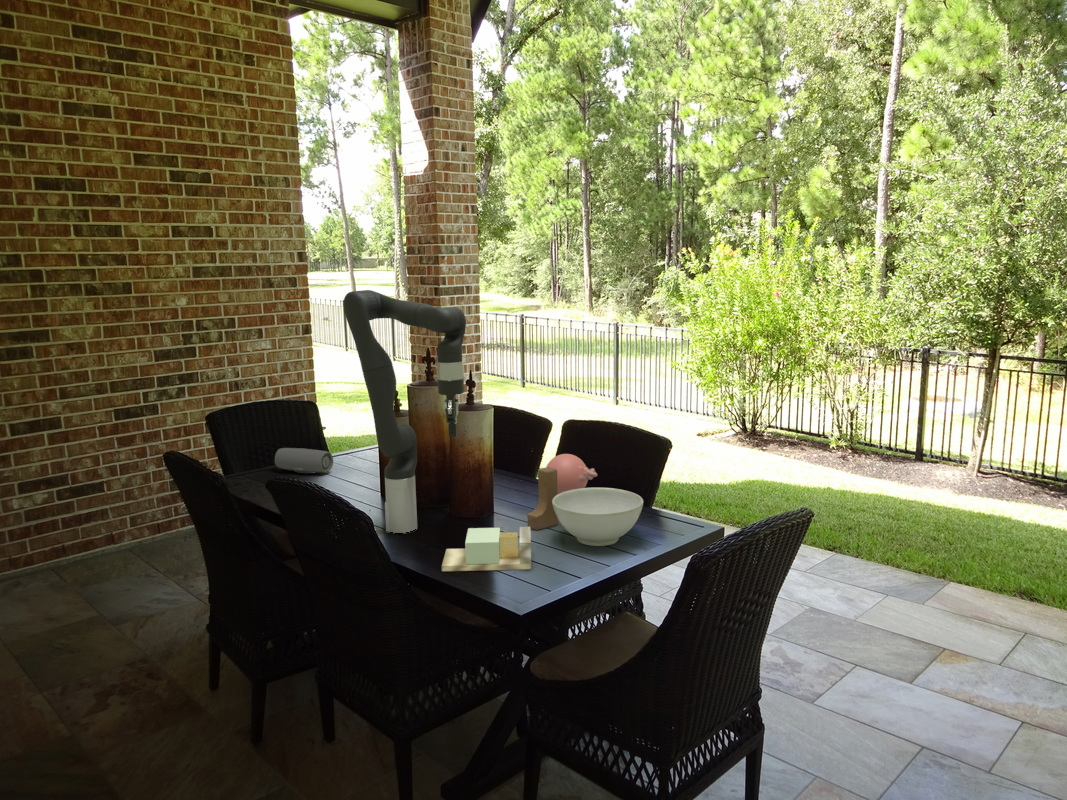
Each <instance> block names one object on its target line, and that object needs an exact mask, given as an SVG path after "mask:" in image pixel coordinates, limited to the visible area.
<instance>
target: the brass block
mask: <svg viewBox="0 0 1067 800" xmlns="http://www.w3.org/2000/svg"><path fill="white" fill-rule="evenodd" d="M518 533H519V532H518V531H513V532H509V531H508V532H504V531H503V532H500V535H499V543H500V558H518V547H519V534H518Z"/></svg>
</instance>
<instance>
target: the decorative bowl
mask: <svg viewBox="0 0 1067 800" xmlns="http://www.w3.org/2000/svg"><path fill="white" fill-rule="evenodd" d="M552 504H553V508H554V511H555V513H556V516H557V518H558V522H559V523H560V524H561V525H562V527H564V529H565V530H566V531H567V532H568V533H570V534H571V535H572V536H573V537H575V538H576V540H577V541H578V542H579V543H580V544H582V545H587V546H592V547H593V546H594V547H605V546H611V545H614V544H616V543H617V542H618V541H619V538H621V537H623V536H624V535H626V534H627V533H628V532H629V531H630V530H631V529H632V528H633V527H634V525H635V524H636V522H637V521H638V519H639V517H640V516H641V512H642V509H643V507H644V499H643V498H642V496H640V495H639V494H637V493H635V492H632V491H629V490H624V489H621V488H620V489H619V488H613V487H585V488H580V489H574V490H569V491H565V492H562V493H560V494H558V495H556V496H555V497H554V498H553V500H552Z"/></svg>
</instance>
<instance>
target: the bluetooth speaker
mask: <svg viewBox="0 0 1067 800" xmlns="http://www.w3.org/2000/svg"><path fill="white" fill-rule="evenodd" d="M274 464H275V466H276V467H277V468H278V469H283V470H287V471H292V470H294V471H308V472H317V473H327V472H326V471H328V472H330V471H331V470H332V468H333V465H334V456H333V455H332V453H331V452H330V451H327V450H319V449H312V448H297V447H282V448H278V449H277V451H276V452H275V456H274ZM329 470H330V471H329Z"/></svg>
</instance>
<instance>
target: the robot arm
mask: <svg viewBox="0 0 1067 800" xmlns="http://www.w3.org/2000/svg"><path fill="white" fill-rule="evenodd" d="M343 311H344V315H345V318H346V321H347V323H348V327H349V330H350V332H351V335H352V338H353V340H354V344H355V347H356V351H357V354H358V358H359V361H360V366H361V370H362V376H363V378H364V383H365V387H366V388H367V393H368V398H369V401H370V402H369V403H370V405H371V410H372V415H373V421H374V427H375V436H376V441H377V445H378V448H379V450H380V451H381V453H382V454H383V455H384V456H385V457H386V458H387V457H388V458H390V459H389V461H388V463H387V465H386V466H385V467H384V485H385V486H384V489H385V502H384V514H385V516H384V517H385V518H384V519H385V532H386V533H390V532H393V533H392V534H395V533H403V534H407V533H406V532H409V533H411V532H410V531H413V530H415V529H416V530H417V529H418V516H417V513H418V512H417V495H416V494H417V491H416V472H415V471H416V468H417V465H418V464H417V463H418V440H417V434H416V431H415V430H414V428H413V427H412V426H411V425H409V424H407V423H406V422H405V423H403V422H402V423H398V422H397V418H396V413H395V398H396V397H395V396H396V392H397V391H396V390H397V378H396V373H395V370H394V366H393V361H392V359H391V357H390V356H389V354H388V353H387V351H386V350H385V349H384V347H383V346H382V345H381V344H380V343H379V341H378V340H377V338H376V336H375V335H374V332H373V330H372V326H371V323H370V321H373V320H375V319H376V320H377V319H378V320H379V319H393V320H394V321H395V320H396V321H398V322H399V323H401V324H403V325H407V326H411V327H416V328H420V329H422V328H423V329H425V330H429V331H431V332H434V333H438V334H444V338H443V339H442V340H441V341H439V342H438V344H437V346H436V352H437V355H436V356H437V368H436V371H437V374H436V376H437V393H438V394H439V395H441V396H445V397H446V399H444V401H443V406H444V411H445V419H446V424H447V425H448V426H447V427H448V429H447V430H448V437H450V438H452V437H453V438H455V437H457V431H458V430H457V423H458V415H459V404H460V400H459V398H458V399H457V395H462V394H464V393H465V381H464V380H465V379H464V378H465V377H464V366H463V350H462V348H463V342H464V338H465V334H466V325H467V320H466V316H465V313H464V311H463V310H462V309H461V308H459V307H456V306H451V307H434V306H433V305H431V304H428V303H422V302H416V301H410V300H402V299H397V298H395V297H394V298H393V297H392V296H391V297H390V296H388V295H385V294H382V293H380V292H377V291H374V290H371V289H365V290H362V289H361V290H353V291H349V292H347V294H346V295H345V296H344V298H343ZM416 530H415V531H416ZM387 531H388V532H387ZM413 532H414V531H413Z"/></svg>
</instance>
